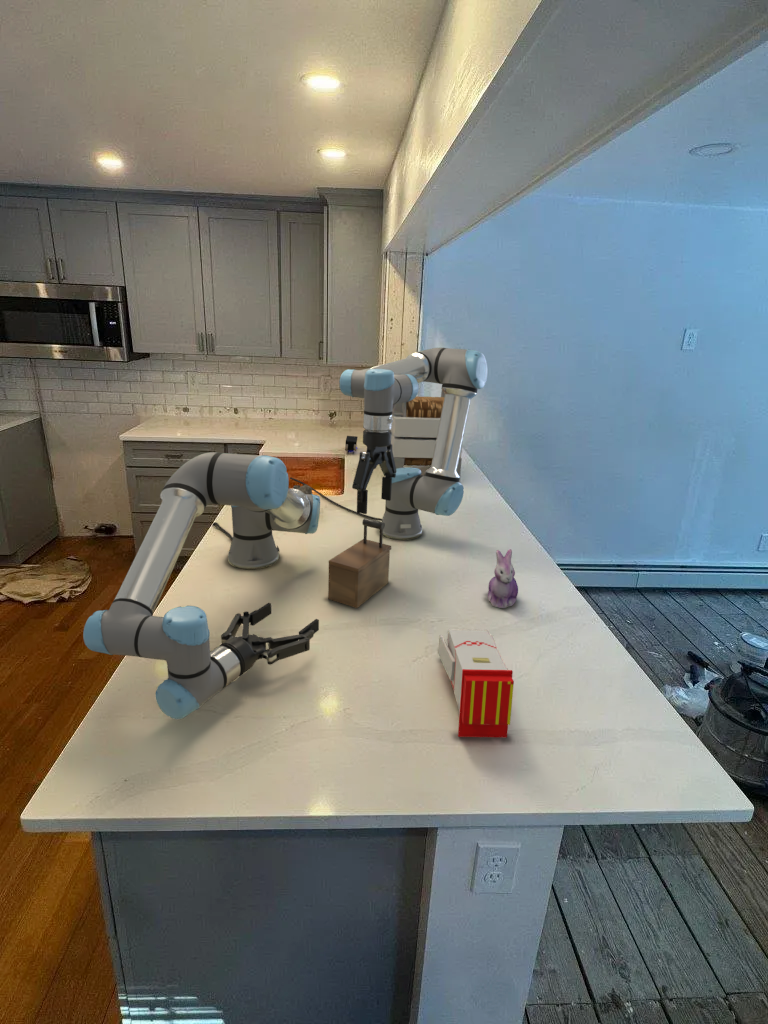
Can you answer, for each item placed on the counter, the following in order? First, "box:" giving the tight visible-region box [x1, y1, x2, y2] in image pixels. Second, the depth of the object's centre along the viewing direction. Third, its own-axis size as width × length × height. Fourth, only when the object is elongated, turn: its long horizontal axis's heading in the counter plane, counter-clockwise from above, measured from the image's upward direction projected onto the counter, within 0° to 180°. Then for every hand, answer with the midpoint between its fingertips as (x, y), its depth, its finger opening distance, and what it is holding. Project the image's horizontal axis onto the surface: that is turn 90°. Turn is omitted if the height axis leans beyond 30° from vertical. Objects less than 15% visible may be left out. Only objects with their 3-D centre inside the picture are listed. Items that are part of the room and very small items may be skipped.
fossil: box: [291, 484, 313, 495], centre depth 215 cm, size 22×10×15 cm
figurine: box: [487, 548, 519, 609], centre depth 154 cm, size 9×10×15 cm
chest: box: [327, 550, 391, 609], centre depth 157 cm, size 17×9×10 cm, turn 151°
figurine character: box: [344, 435, 359, 455], centre depth 308 cm, size 7×8×15 cm
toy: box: [437, 628, 515, 738], centre depth 117 cm, size 12×13×30 cm
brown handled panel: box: [328, 517, 392, 573], centre depth 154 cm, size 18×9×9 cm, turn 151°
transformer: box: [390, 389, 464, 483], centre depth 268 cm, size 34×33×41 cm
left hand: (293, 616), depth 131 cm, fingers open, 13 cm apart
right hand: (374, 506), depth 156 cm, fingers open, 13 cm apart
